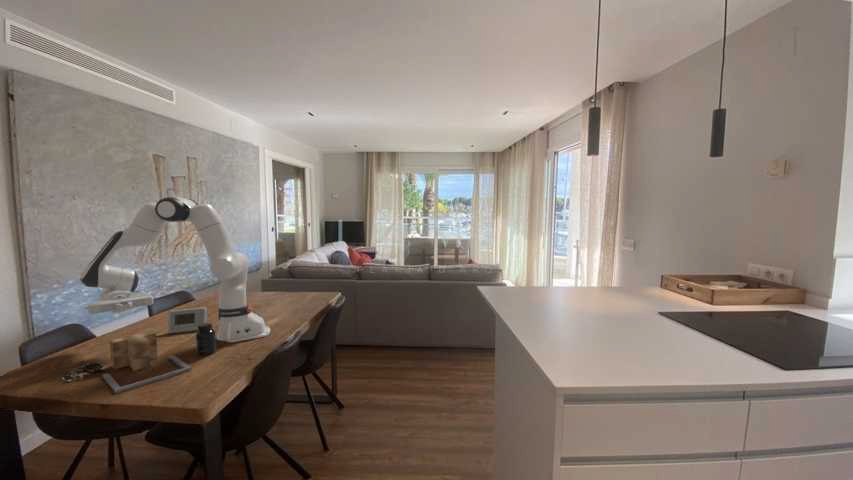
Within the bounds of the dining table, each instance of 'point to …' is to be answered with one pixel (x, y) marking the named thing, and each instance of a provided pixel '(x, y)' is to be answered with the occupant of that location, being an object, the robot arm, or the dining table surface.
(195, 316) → the digital clock
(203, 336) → the supplement bottle
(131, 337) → the notched wooden block
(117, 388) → the frame
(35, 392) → the dining table surface
